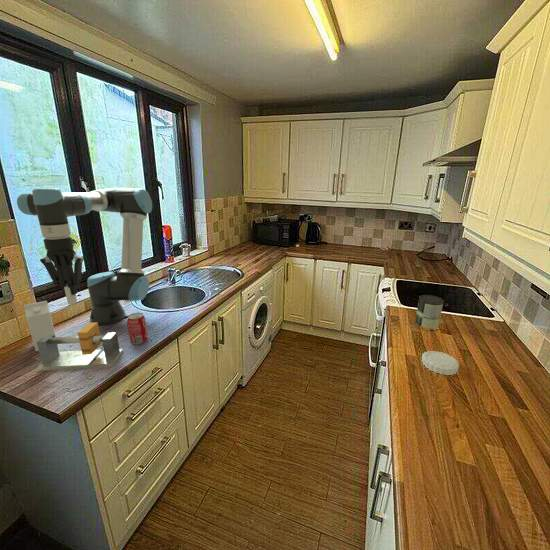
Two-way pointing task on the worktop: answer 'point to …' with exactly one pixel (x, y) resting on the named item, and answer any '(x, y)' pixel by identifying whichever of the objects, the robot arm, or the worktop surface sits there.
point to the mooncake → (440, 362)
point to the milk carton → (39, 321)
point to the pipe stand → (77, 353)
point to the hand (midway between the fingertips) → (72, 303)
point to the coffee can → (429, 311)
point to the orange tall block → (89, 338)
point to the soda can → (137, 328)
